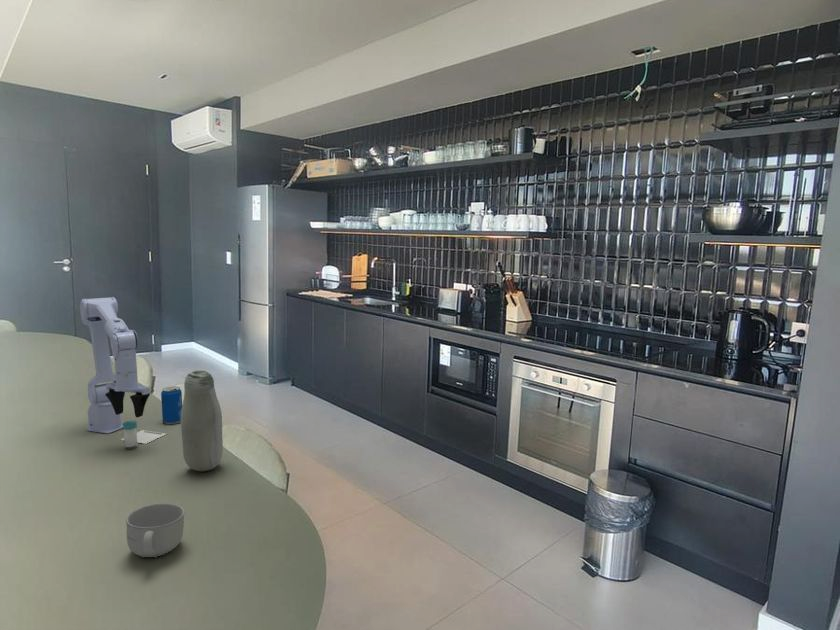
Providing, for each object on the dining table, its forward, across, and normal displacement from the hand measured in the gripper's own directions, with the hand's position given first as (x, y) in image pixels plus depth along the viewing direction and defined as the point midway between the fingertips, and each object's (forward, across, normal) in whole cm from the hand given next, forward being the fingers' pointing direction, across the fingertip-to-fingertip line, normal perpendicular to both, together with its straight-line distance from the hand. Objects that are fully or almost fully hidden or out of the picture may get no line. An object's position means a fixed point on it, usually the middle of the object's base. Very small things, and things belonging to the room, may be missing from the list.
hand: (129, 415), depth 164 cm
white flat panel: (+10, -3, +8) cm, 13 cm away
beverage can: (+11, -5, +23) cm, 26 cm away
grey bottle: (+11, +31, -6) cm, 33 cm away
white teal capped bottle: (+10, 0, 0) cm, 10 cm away
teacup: (+11, +49, -42) cm, 66 cm away
